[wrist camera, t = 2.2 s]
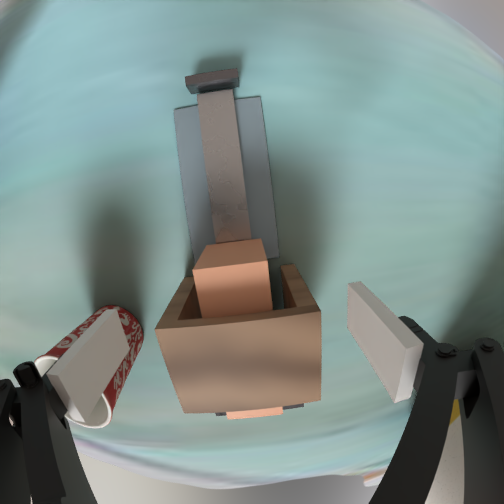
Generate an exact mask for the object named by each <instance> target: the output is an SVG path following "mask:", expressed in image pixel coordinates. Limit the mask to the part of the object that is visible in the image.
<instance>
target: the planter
mask: <svg viewBox="0 0 504 504" xmlns="http://www.w3.org/2000/svg"><path fill="white" fill-rule="evenodd" d="M503 352H504V351H503ZM463 502H464V450H463V436H462V425H461V417H460V409H459V402H458V399H456V400H454V403H453V409H452V414H451V419H450V424H449V428H448V433H447V437H446V441H445V445H444V449H443V452H442V456H441V459H440V462H439V466H438V469H437V472H436V475H435V478H434V481H433V483H432V486H431V489H430V491H429V494H428V497H427V499H426V502H425V503H426V504H463Z"/></svg>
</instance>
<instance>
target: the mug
mask: <svg viewBox="0 0 504 504" xmlns="http://www.w3.org/2000/svg"><path fill="white" fill-rule="evenodd" d="M109 309H117V312H118V315H119V318H120V321H121V324H122V327H123V330H124V333H125V336H126V339H127V342H128V345H129V347H130V350H129V351H128V353H127V354H126V356H125V357H124V359H123V361H122V362H121V364H120V366H119V367H118V369H117V370H116V372H115V374H114V375H113V377H112V379H111V380H110V382H109V383H108V385H107V387H106V388H105V390H104V392H103V393H102V395H101V397H100V398H99V400H98V402H97V404H96V405H95V407H94V409H93V410H92V412H91V414H90V416H89V417H88V419H87V421H86V423H85V422H80V421H76V420H73V419H72V417H71V416H70V414H69V412H68V411H67V413H66V414H65V417H66V418H67V419H69V420H71V421H73V422H75V423H77V424H79V425H82V426H85V427H89V428H101V427H104V426H106V425H107V424H109V423H110V421H111V419H112V413H113V409H114V407H115V404H116V402H117V399H118V397H119V395H120V393H121V390H122V388H123V386H124V383H125V381H126V379H127V376H128V374H129V372H130V370H131V368H132V366H133V363H134V361H135V359H136V357H137V355H138V353H139V351H140V349H141V346H142V343H143V332H142V328H141V326H140V324H139V322H138V321H137V319H136V318H135V317H134V316H133V315H132V314H131V313H130V312H128V311H127V310H125V309H123V308H121V307H119V306H114V305H108V306H104V307H102V308H100V309H99V310H97V311H96V312H95V313H94V314H93V315H92V316H90V317H89V318H88V319H87V320H86V321H84V322H83V323H82V324H81V325H79V326H78V327H77V328H76V329H75V330H73V331H72V332H71V333H70V334H69V335H67V336H66V337H65V338H63V339H62V340H61V341H60V342H59V343H58V344H57V345H55V346H54V347H53V348H52V349H51V350H50V351H48V352H47V353H46V354H45V355H42V356H39V357H38V358H37V359H36V360H35V362H34V363H35V365H36V367H37V369H38V371H39V373H40V375H41V377H42V376H43V375H44V374H45V373H46V372H47V370H48V369H49V368H50V367H51V366H52V365H54V363H55V362H56V360H58V358H59V357H60V356H61V355H62V354H63V353H64V352H66V351H67V350H68V349H69V348H70V347H71V346H72V345H73V344H74V342H75V341H76V340H77V339H78V338H79V337H80V336H81V335H82V334H83V333H84V332H85V331H86V330H87V329H88V328H89V327H90V326H91V325H92V324H93V323H94V322H95V321H96V319H97V318H98V317H99V316H100V315H101V314H102V313H103V312H104V311H105V310H109Z"/></svg>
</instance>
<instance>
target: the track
mask: <svg viewBox="0 0 504 504" xmlns="http://www.w3.org/2000/svg"><path fill="white" fill-rule="evenodd" d="M185 82H186V87H187V88H188V90H189V91H190V93H191V94H195V93H201V92H207V91H213V90H220V89H227V88H235V87H239V78H238V70H237V68H236V69H228V70H221V71H214V72H208V73H202V74H196V75H191V76H186V77H185ZM197 101H198V110H199V120H200V128H201V137H202V145H203V153H204V161H205V169H206V177H207V184H208V192H209V199H210V206H211V213H212V220H213V227H214V233H215V240H216V244H220V243H228V242H236V241H244V240H252V239H251V231H250V223H249V215H248V207H247V199H246V191H245V184H244V176H243V168H242V160H241V152H240V144H239V136H238V129H237V121H236V113H235V105H234V97H233V90H232V89H229V90H222V91H215V92H209V93H203V94H197Z"/></svg>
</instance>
